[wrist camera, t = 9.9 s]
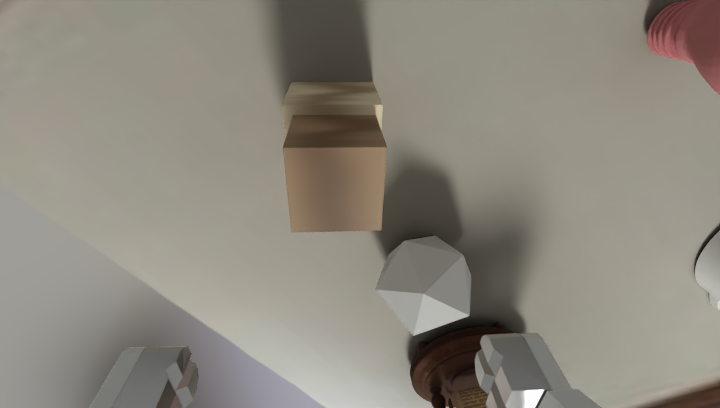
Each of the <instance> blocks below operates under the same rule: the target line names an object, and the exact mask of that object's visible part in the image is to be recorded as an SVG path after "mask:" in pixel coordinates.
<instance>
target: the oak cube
mask: <svg viewBox="0 0 720 408" xmlns="http://www.w3.org/2000/svg"><path fill="white" fill-rule="evenodd" d="M281 106H282V116H283V125H284V135H285V139H286V136H287V133H288V130H289V126H290V123H291V120H292V117H293V115H376V117H377V120H378V123H379V126H380V128H381V129H382V109H383V104H382V102H381V100H380V97H379V95H378V93H377V90H376V88H375V85H374V83H373V82H291V85H290V87H289V89H288V91H287V94H286V96H285V98H284V100H283V103H282V105H281Z"/></svg>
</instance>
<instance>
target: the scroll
mask: <svg viewBox="0 0 720 408" xmlns="http://www.w3.org/2000/svg"><path fill="white" fill-rule="evenodd" d="M509 333H513V332H511V331H508V330H506V329H505V327H504V326H503V325H502V324H501V323H499V322H497V323H496V324H495V327H471V328H465V329H461V330H457V331H454V332H451V333H448V334H446V335H443V336H441V337H439V338H437V339H435V340H434V341H432V342H430V343H429V344H428V345H425V344H424V343H423V342H421V343H420V344H419V353H418V354H417V355H416V357H415V358H414V360H413V362H412V364H411V368H410V376H411V380H412V385H413V388H414V390H415V391H416V393H417V394H418V395H419V396H421V397H422V398H423V399H425V400H427V401H429V402H431V403H432V405H433V407H434V408H446V406H447V407H449V408H453V407H456V408H487V405H486V401H487V397H488V394H487V393H486V392H485V391H484V390H483V389H482V388H481V387H480V385H479V382H478V379H477V376H476V371H475V358H476V354H477V352H478V351H479V350H481V349H482V347H481V344H480V341H481V338H482V337H483V336H484V335H491V334H509Z"/></svg>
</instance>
